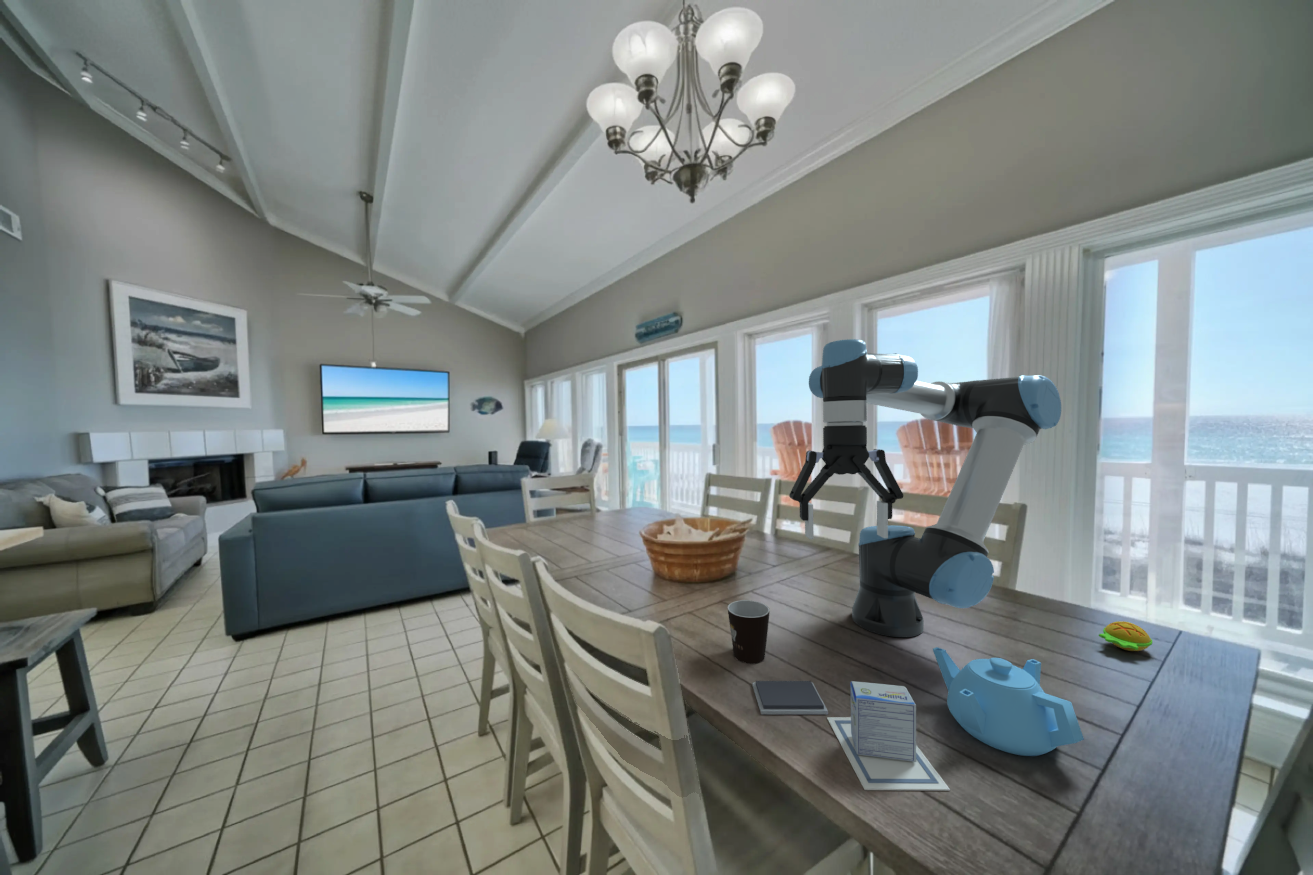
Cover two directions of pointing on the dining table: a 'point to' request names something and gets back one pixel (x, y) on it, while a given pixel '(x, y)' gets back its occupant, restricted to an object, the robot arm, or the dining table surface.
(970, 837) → the dining table surface
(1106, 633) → the toy burger
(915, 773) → the print sheet
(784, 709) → the ink pad
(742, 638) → the coffee mug
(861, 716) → the medicine box
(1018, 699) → the teapot
